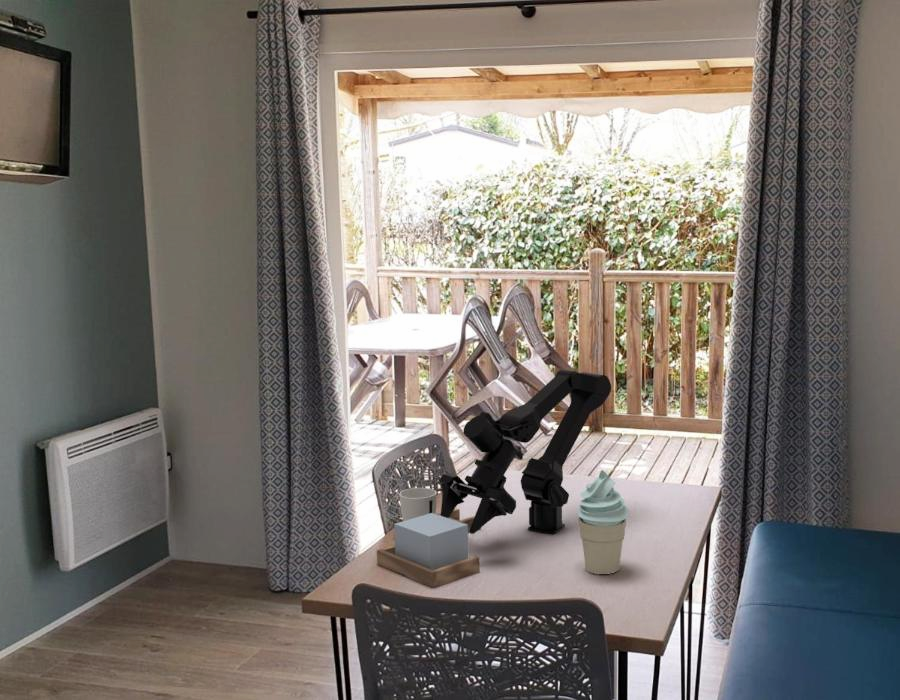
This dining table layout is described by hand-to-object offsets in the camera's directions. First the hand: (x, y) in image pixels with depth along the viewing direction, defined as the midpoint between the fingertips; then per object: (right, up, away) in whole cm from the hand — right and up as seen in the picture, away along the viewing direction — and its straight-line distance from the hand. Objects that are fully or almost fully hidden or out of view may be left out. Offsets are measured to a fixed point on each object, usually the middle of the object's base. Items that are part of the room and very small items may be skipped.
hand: (456, 527), depth 205 cm
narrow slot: (+1, -4, +20) cm, 20 cm away
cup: (-8, -5, +15) cm, 17 cm away
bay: (-6, -7, -4) cm, 10 cm away
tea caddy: (-5, -7, -3) cm, 10 cm away
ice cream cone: (+29, -7, -7) cm, 31 cm away
